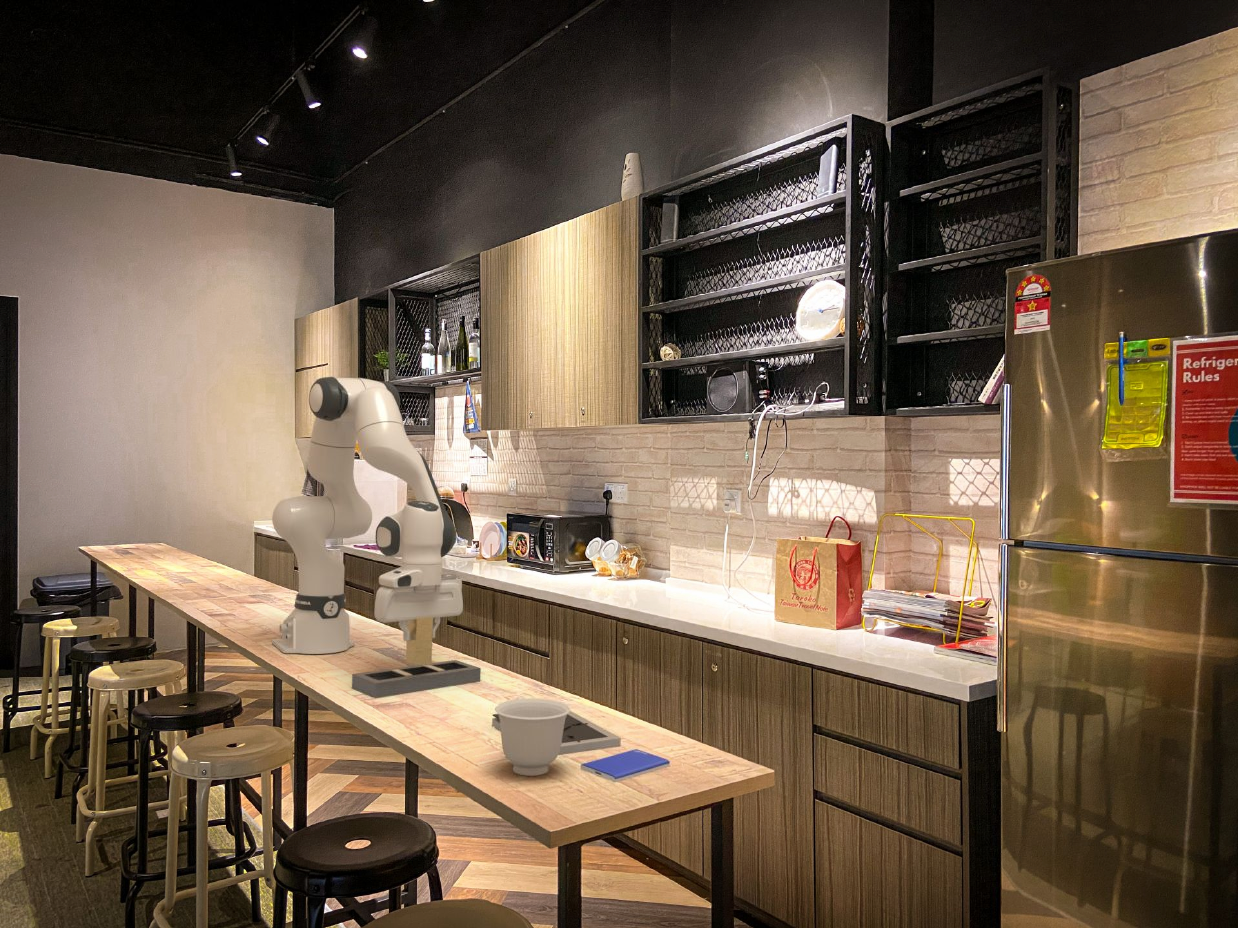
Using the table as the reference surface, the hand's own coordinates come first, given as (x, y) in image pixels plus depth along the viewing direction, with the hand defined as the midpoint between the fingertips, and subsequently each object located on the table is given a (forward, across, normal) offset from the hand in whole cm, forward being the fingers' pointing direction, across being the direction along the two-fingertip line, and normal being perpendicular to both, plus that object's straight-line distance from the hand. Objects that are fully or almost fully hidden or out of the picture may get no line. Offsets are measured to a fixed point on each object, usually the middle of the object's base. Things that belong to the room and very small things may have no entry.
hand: (419, 639), depth 204 cm
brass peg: (+5, 0, 0) cm, 5 cm away
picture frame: (+11, 0, +48) cm, 49 cm away
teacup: (+10, +14, +59) cm, 61 cm away
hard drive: (+11, +1, +68) cm, 69 cm away
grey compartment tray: (+10, 0, 0) cm, 10 cm away
